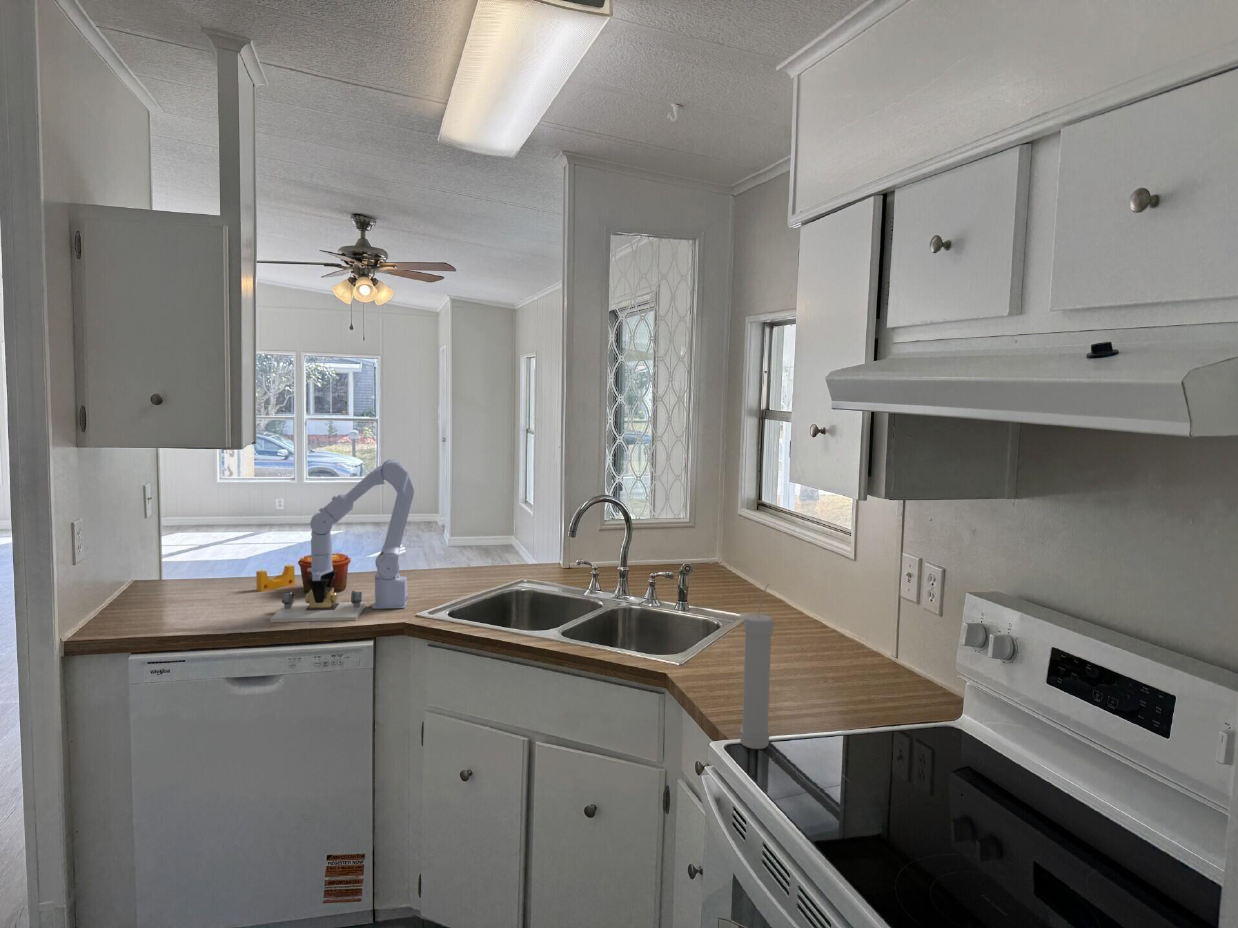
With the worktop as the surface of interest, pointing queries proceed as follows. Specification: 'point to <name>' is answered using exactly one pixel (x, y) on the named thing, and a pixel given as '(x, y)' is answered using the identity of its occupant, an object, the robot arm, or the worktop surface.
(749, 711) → the grey piece
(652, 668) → the worktop surface
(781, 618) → the worktop surface
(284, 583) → the pipe clamp
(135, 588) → the worktop surface
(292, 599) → the pipe board
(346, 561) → the food container
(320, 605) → the brass valve
